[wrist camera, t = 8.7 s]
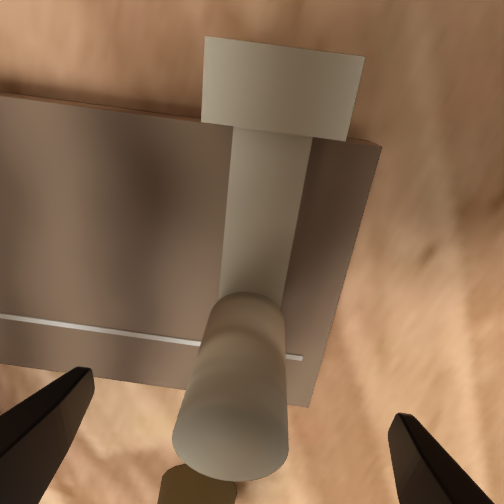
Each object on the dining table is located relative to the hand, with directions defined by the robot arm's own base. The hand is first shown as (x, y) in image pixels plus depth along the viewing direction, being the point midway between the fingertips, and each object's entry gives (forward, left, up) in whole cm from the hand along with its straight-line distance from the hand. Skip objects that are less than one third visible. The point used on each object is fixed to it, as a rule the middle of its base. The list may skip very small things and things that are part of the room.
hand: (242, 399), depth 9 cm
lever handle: (0, +3, -8) cm, 8 cm away
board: (-6, 0, -8) cm, 10 cm away
